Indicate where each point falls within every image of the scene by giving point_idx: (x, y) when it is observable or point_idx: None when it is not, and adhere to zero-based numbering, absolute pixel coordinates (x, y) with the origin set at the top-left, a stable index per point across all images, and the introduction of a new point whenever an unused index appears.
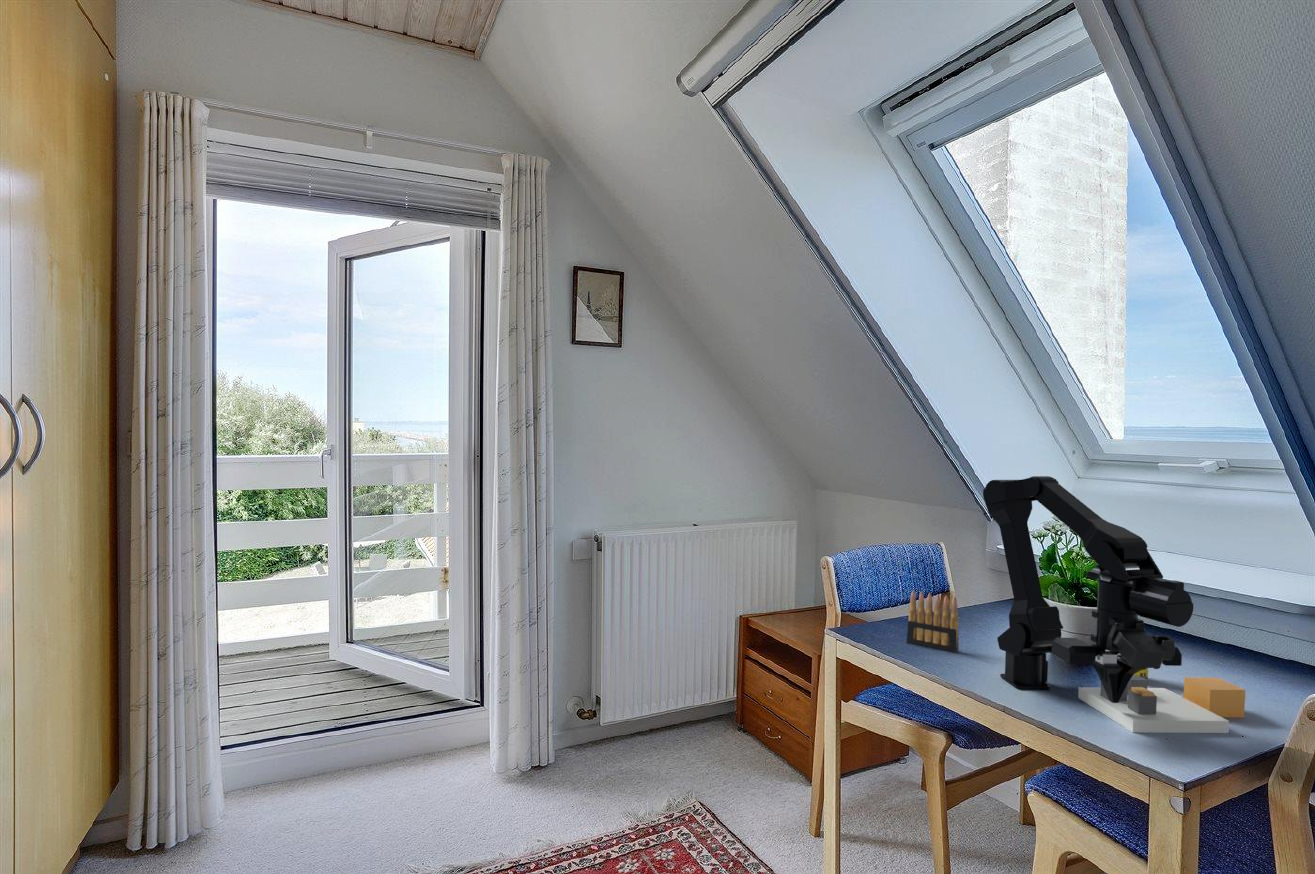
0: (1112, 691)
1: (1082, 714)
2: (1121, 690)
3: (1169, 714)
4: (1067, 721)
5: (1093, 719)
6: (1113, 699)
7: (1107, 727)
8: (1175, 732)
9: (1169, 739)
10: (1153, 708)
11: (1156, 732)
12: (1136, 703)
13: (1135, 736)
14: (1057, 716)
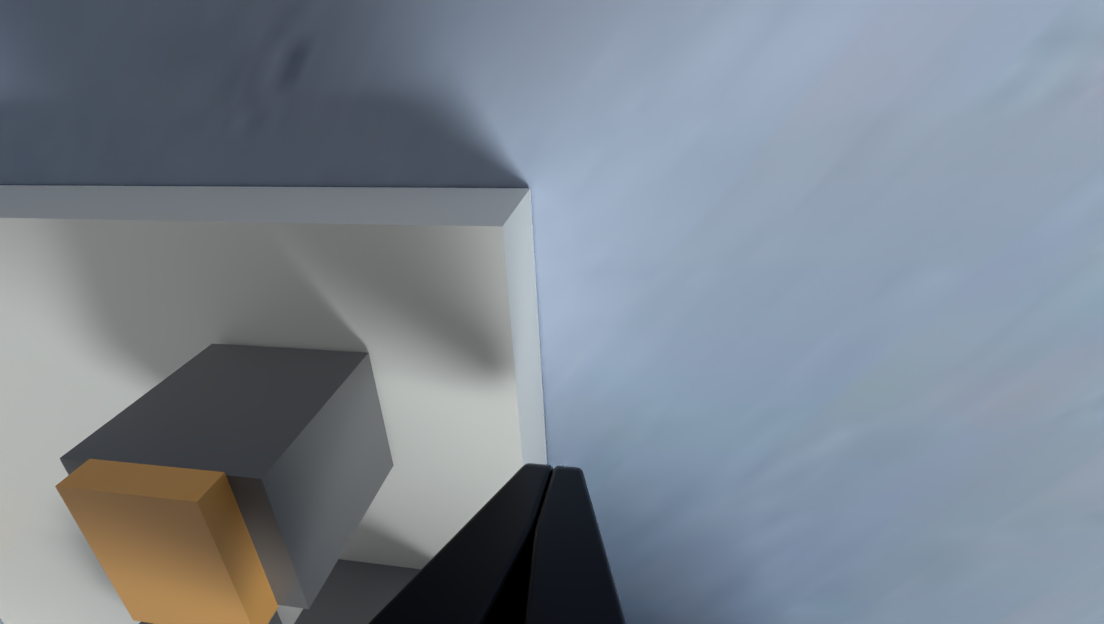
0: (603, 576)
1: (722, 496)
2: (463, 572)
3: (106, 338)
4: (986, 403)
5: (700, 422)
6: (582, 491)
7: (695, 286)
8: (175, 187)
9: (277, 47)
10: (200, 374)
11: (323, 188)
12: (331, 434)
13: (560, 102)
14: (985, 486)
